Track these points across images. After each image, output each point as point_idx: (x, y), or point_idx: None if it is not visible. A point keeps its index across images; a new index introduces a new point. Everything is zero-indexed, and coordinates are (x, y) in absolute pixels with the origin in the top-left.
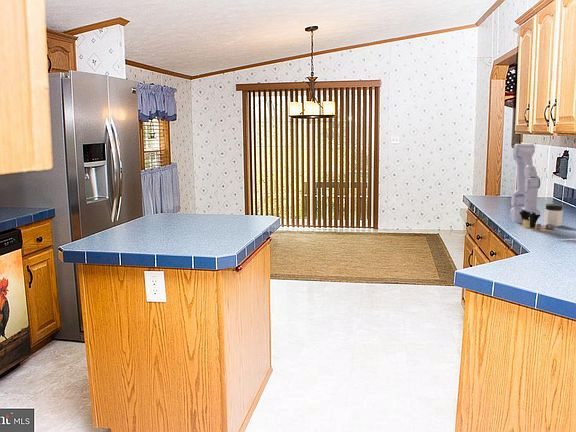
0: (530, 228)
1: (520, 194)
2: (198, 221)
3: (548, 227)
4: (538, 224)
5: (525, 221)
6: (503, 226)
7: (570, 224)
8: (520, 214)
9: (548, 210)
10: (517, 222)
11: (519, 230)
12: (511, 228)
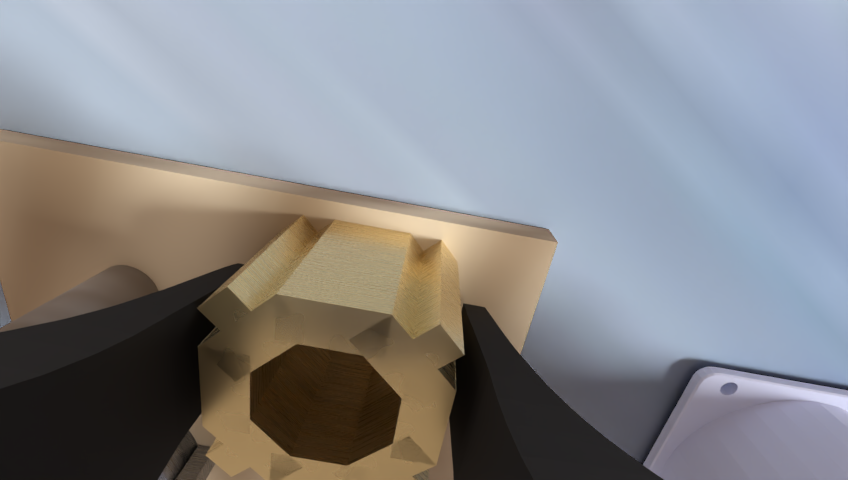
0: (250, 250)
1: None
2: None
3: None
4: (9, 325)
5: (313, 279)
6: (768, 18)
7: None
8: (637, 465)
9: None
10: (752, 423)
11: (292, 30)
12: (518, 25)
